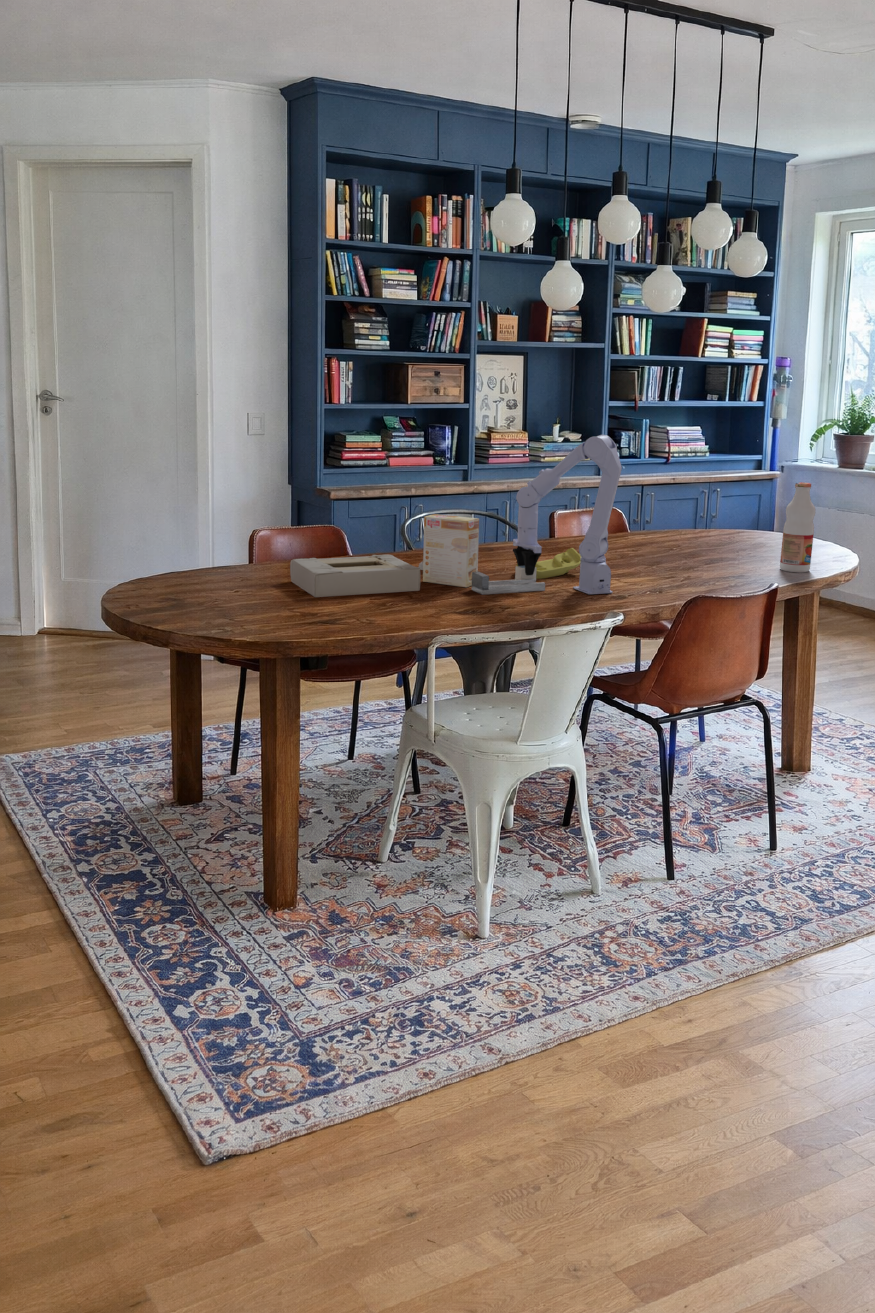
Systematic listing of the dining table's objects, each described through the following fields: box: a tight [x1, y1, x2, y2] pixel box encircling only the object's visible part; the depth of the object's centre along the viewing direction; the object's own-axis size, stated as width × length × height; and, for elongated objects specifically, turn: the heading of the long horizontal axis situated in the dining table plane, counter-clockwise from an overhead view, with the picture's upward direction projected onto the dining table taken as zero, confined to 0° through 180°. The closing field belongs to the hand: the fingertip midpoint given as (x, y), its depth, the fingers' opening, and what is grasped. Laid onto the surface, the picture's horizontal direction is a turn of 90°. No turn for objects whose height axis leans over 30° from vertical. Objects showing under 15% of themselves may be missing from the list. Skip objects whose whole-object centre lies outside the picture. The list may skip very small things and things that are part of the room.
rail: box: [471, 571, 546, 595], centre depth 337 cm, size 7×20×5 cm, turn 113°
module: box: [514, 565, 537, 580], centre depth 347 cm, size 4×5×5 cm
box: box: [289, 554, 422, 598], centre depth 338 cm, size 23×8×32 cm
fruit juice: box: [779, 481, 816, 573], centre depth 376 cm, size 9×9×28 cm
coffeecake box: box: [422, 513, 480, 588], centre depth 344 cm, size 15×7×20 cm, turn 59°
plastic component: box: [515, 547, 581, 580], centre depth 364 cm, size 20×7×10 cm
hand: (526, 573), depth 347 cm, fingers closed on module, 4 cm apart
